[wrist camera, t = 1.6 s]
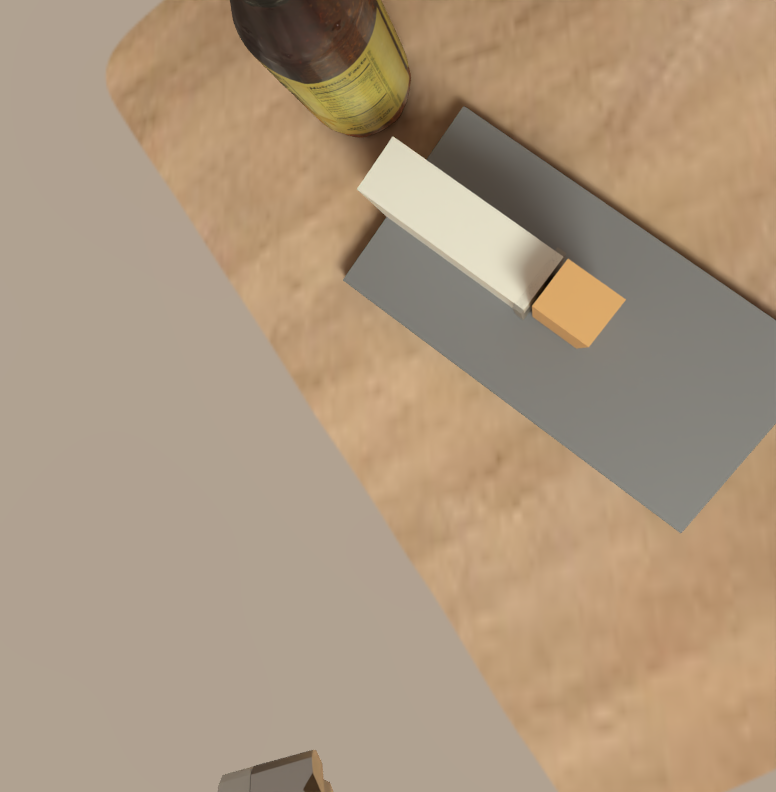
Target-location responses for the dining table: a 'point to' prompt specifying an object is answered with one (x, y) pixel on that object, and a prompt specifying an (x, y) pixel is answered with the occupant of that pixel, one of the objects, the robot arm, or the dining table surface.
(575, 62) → the dining table surface
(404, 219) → the grey base plate
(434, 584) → the dining table surface
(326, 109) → the sauce bottle
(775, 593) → the dining table surface
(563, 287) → the tan wooden beam
